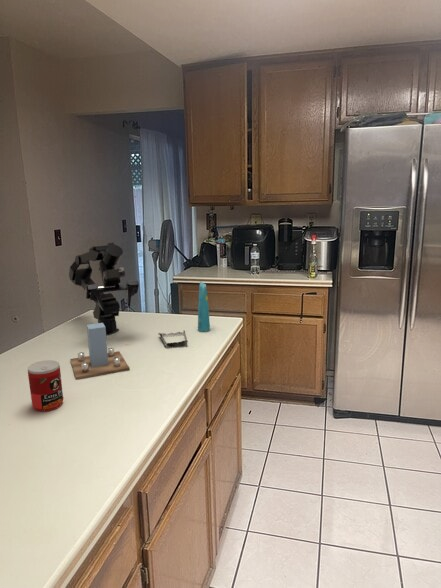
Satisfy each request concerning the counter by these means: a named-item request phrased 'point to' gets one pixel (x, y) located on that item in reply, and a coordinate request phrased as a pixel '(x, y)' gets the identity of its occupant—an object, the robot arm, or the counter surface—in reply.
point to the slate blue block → (97, 344)
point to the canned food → (45, 385)
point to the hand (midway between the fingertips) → (116, 308)
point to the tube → (203, 309)
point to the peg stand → (85, 369)
